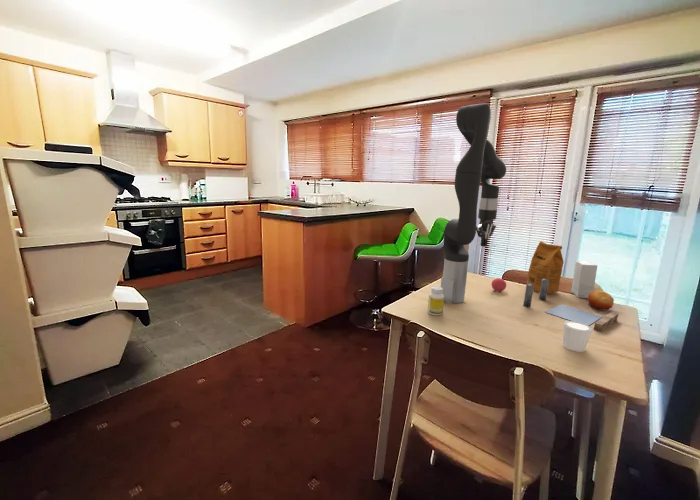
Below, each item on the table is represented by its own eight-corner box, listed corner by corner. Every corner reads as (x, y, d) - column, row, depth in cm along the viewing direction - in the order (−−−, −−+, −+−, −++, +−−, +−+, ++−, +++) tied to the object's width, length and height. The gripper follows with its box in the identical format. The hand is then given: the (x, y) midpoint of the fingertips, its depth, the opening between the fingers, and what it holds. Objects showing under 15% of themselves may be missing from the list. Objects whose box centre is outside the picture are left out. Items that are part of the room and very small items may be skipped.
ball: (500, 294, 140) (502, 281, 139) (488, 290, 145) (489, 277, 144) (508, 291, 144) (509, 279, 142) (495, 288, 148) (497, 275, 147)
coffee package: (539, 284, 154) (546, 240, 149) (561, 293, 143) (570, 245, 138) (522, 286, 152) (528, 240, 147) (543, 295, 140) (551, 246, 135)
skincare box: (592, 299, 137) (599, 265, 134) (576, 297, 139) (582, 264, 135) (585, 292, 145) (591, 261, 141) (569, 291, 146) (575, 259, 143)
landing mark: (587, 326, 111) (587, 326, 111) (544, 312, 122) (545, 311, 122) (602, 317, 119) (602, 316, 119) (561, 304, 130) (561, 304, 130)
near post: (528, 307, 126) (532, 286, 124) (521, 305, 128) (525, 284, 126) (531, 306, 128) (535, 285, 126) (525, 304, 130) (528, 283, 128)
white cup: (555, 341, 100) (558, 320, 99) (575, 341, 101) (579, 320, 99) (571, 353, 94) (575, 331, 92) (593, 352, 94) (598, 330, 93)
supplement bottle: (445, 315, 118) (447, 290, 116) (431, 316, 117) (433, 290, 115) (438, 309, 123) (440, 285, 121) (425, 310, 122) (427, 285, 120)
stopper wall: (600, 331, 107) (602, 324, 107) (593, 329, 109) (594, 322, 108) (616, 320, 117) (618, 314, 116) (609, 318, 118) (611, 312, 118)
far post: (544, 301, 134) (547, 280, 132) (537, 299, 136) (540, 278, 134) (547, 299, 135) (550, 279, 133) (540, 297, 137) (543, 277, 135)
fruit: (600, 299, 132) (610, 287, 127) (609, 316, 127) (620, 303, 121) (579, 298, 133) (588, 286, 128) (587, 314, 128) (598, 302, 122)
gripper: (487, 209, 137) (482, 249, 141) (504, 208, 145) (499, 246, 148) (471, 208, 143) (467, 246, 147) (488, 207, 150) (484, 243, 154)
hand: (483, 246), depth 148 cm, fingers closed
